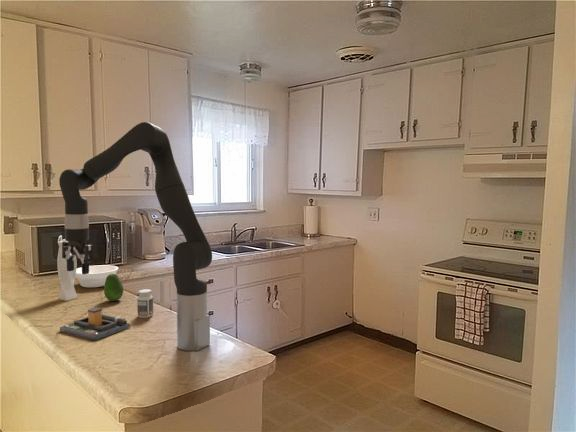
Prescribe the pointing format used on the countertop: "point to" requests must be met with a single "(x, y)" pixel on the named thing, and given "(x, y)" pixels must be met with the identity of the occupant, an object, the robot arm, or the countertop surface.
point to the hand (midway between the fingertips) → (77, 272)
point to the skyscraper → (66, 275)
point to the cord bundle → (114, 319)
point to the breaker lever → (95, 316)
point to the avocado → (113, 288)
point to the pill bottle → (145, 303)
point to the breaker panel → (93, 329)
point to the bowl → (95, 275)
